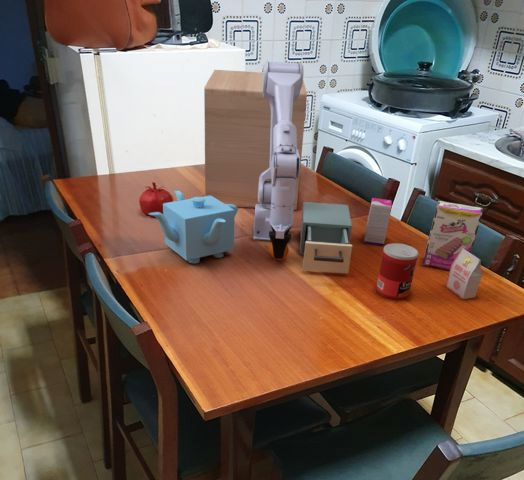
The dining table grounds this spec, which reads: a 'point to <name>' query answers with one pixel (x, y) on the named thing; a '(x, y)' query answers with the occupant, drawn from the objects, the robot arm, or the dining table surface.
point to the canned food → (396, 270)
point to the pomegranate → (154, 199)
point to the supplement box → (378, 221)
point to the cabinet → (324, 218)
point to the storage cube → (241, 136)
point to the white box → (465, 275)
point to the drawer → (327, 249)
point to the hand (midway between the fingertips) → (278, 253)
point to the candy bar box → (451, 233)
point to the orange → (284, 252)
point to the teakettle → (197, 226)
